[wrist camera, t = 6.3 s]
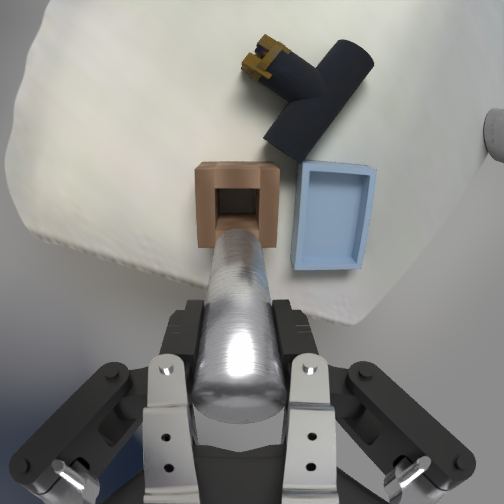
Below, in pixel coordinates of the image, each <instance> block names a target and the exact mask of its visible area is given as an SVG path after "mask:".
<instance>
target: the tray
mask: <svg viewBox="0 0 504 504" xmlns="http://www.w3.org/2000/svg"><path fill="white" fill-rule="evenodd" d="M376 172H377V169H374V168H372V167H369V166H366V165H357V164H347V163H336V162H324V161H310V160H303V162H302V163H301V164H300V163H298V162H297V177H296V194H295V209H294V223H293V236H292V248H291V262H292V265H293V267H294V270H339V269H361V267H362V262H363V257H364V252H365V247H366V241H367V236H368V230H369V224H370V218H371V211H372V204H373V197H374V189H375V181H376Z"/></svg>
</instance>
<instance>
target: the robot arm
mask: <svg viewBox="0 0 504 504" xmlns="http://www.w3.org/2000/svg"><path fill="white" fill-rule="evenodd" d="M484 137H485V143H486V147H487V150H488V152H489V154H490V155H491V157H492V158H493V159H495V160H496V161H499V162H502V163H504V109H492V110H491V111H490V112H489V113H488V115H487V117H486V120H485V125H484ZM204 308H205V306H204V300H187V304H186V308H185V310H176V311H175V312H174V313H173V314H172V315H171V316H170V319H169V322H168V326H167V329H166V333H165V336H164V340H163V343H162V347H161V350H160V353H159V356H157V357H155V358H154V359H152V361H151V362H150V364H149V366H148V367H145V368H141V369H135V370H128V368H127V367H126V366H125V365H124V364H122V363H119V362H110V363H107V364H105V365H103V366H102V367H100V368H99V369H98V370H97V371H96V372H95V373H94V374H93V375H92V376H91V377H90V378H89V379H88V380H87V381H86V382H85V383H84V384H83V385H82V386H81V387H80V388H79V389H78V390H77V391H76V392H75V393H74V394H73V395H72V396H71V397H70V398H69V399H68V400H67V401H66V402H65V403H64V404H63V405H62V406H61V407H60V408H59V409H58V410H57V411H56V412H55V413H54V414H53V415H52V416H51V417H50V418H49V419H48V420H47V421H46V422H45V423H44V424H43V425H42V426H41V427H40V428H39V429H38V430H37V431H36V432H35V433H34V434H33V435H32V436H31V437H30V438H29V439H28V440H27V441H26V442H25V444H23V445H22V446H21V448H20V449H19V450H18V451H17V452H16V453H15V454H14V455H13V456H12V457H11V459H10V462H9V470H10V474H11V476H12V477H13V479H14V480H15V481H16V482H18V483H19V484H21V485H22V486H23V487H25V488H27V490H28V491H30V492H31V493H33V494H34V495H36V496H38V497H39V498H41V499H42V500H43V502H44V503H46V504H95V499H96V497H97V496H98V494H99V489H100V486H99V482H98V480H97V478H98V477H99V476H100V474H101V473H102V472H103V471H104V469H105V468H106V467H107V466H108V464H109V463H110V462H111V461H112V459H113V458H114V457H115V456H116V454H117V453H118V452H119V451H120V449H121V448H122V447H123V446H124V445H125V443H126V442H127V441H128V440H129V438H130V437H131V436H132V435H133V433H134V432H135V431H136V430H137V428H138V427H139V426H140V425H141V423H142V422H143V456H144V469H142V470H141V471H140V472H139V473H137V474H136V475H135V476H134V477H133V478H132V479H130V480H129V481H128V482H126V483H125V484H124V485H123V486H121V487H120V488H119V489H117V490H116V491H115V492H114V493H112V494H111V495H110V496H108V497H107V498H106V499H104V500H103V501H102V502H100V503H99V504H436V503H437V502H438V501H439V500H440V499H441V498H442V497H443V496H444V495H445V494H446V493H447V492H449V491H450V490H452V489H453V488H455V487H456V486H458V485H459V484H461V483H462V482H464V481H465V480H467V479H468V478H469V477H470V476H471V475H472V474H473V472H474V470H475V467H476V460H475V457H474V455H473V453H472V452H471V451H470V450H469V449H467V448H466V447H465V446H464V445H463V444H462V443H461V442H460V441H459V440H458V439H456V438H455V437H454V436H453V435H452V434H451V433H450V432H449V431H448V430H447V429H446V428H444V427H443V426H442V425H441V424H440V423H439V422H438V421H437V420H436V419H434V418H433V417H432V416H431V415H430V414H429V413H428V412H427V411H426V410H425V409H424V408H422V407H421V406H420V405H419V404H418V403H417V402H416V401H415V400H414V399H412V398H411V397H410V396H409V395H408V394H407V393H406V392H405V391H403V389H402V388H400V387H399V386H398V385H397V384H396V383H395V382H394V381H393V380H391V378H389V377H388V376H387V375H386V374H385V373H384V372H383V371H382V370H381V369H380V368H378V367H377V366H376V365H375V364H373V363H370V362H366V361H360V362H356V363H354V364H353V365H351V367H350V368H349V369H344V368H337V367H333V366H330V365H328V364H327V362H326V361H325V359H324V358H322V357H321V356H319V354H318V351H317V347H316V344H315V341H314V338H313V335H312V332H311V328H310V326H309V322H308V319H307V316H306V315H305V314H304V313H303V312H302V311H301V310H292V309H291V305H290V302H289V300H273V301H272V311H273V317H274V322H275V328H276V334H277V340H278V346H279V352H280V358H281V364H282V369H283V375H284V381H285V387H286V393H287V401H286V404H285V407H284V419H283V428H282V438H281V444H280V445H268V446H265V447H261V448H257V449H253V450H249V451H245V452H234V451H229V450H225V449H221V448H216V447H212V446H207V445H206V446H205V445H199V442H198V437H197V430H196V423H195V416H194V409H193V403H192V391H193V384H194V376H195V369H196V362H197V355H198V348H199V341H200V334H201V328H202V321H203V314H204ZM335 419H336V420H337V422H338V423H339V424H340V425H341V426H342V428H343V429H344V430H345V431H346V432H347V433H348V434H349V436H350V437H351V438H352V439H353V440H354V441H355V442H356V443H357V444H358V446H359V447H360V448H361V449H362V450H363V451H364V452H365V453H366V455H367V456H368V457H369V458H370V459H371V460H372V461H373V462H374V463H375V464H376V465H377V466H378V468H379V469H380V470H381V471H382V472H383V473H384V474H385V475H386V476H385V479H384V488H385V491H386V493H387V494H388V495H389V500H390V503H388V502H387V501H385V500H384V499H382V498H381V497H379V496H378V495H376V494H375V493H373V492H372V491H370V490H369V489H367V488H366V487H364V486H363V485H361V484H360V483H359V482H357V481H356V480H354V479H353V478H352V477H350V476H349V475H348V474H346V473H345V472H343V471H342V470H341V469H339V468H338V467H337V466H336V428H335Z"/></svg>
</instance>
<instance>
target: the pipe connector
mask: <svg viewBox="0 0 504 504" xmlns="http://www.w3.org/2000/svg"><path fill="white" fill-rule="evenodd" d="M255 53H257V54H259V55H260V56H262V57H263V59H260V58H258V57H257V56H255V55H253V54H252V53H249V54H248V55H247V56H246V58H245V59H244V60H243V61H242V67H241V70H243V71H245V72H246V73H248V74H250V75H251V76H250V78H251V79H253V80H254V81H256V82H260V83H261V84H263V85H264V86H266V87H268V88H269V89H271V90H272V91H274V92H275V93H277V94H278V95H280V96H281V97H282V98H284V99H285V100H287V101H288V102H289V103H288V104H287V106H286V107H285V108H284V110H283V111H282V112H281V114H280V115H279V117H278V118H277V119H276V121H275V122H274V123H273V125H272V126H271V127H270V129H269V130H268V132H267V133H266V134H265V136H264V137H263V138H264V139H265V140H266V141H268V142H269V143H271V144H272V145H274V146H275V147H276V148H278V149H279V150H281V151H282V152H284V153H285V154H287V155H288V156H289V157H291V158H292V159H294V160H295V161H297V162H298V163H300V164H301V163H302V162H303V160H304V159H305V158H306V156H307V155H308V154H309V152H310V151H311V149H312V148H313V147H314V145H315V144H316V143H317V141H318V140H319V139H320V137H321V136H322V135H323V133H324V132H325V131H326V129H327V128H328V127H329V125H330V124H331V122H332V121H333V120H334V118H335V117H336V116H337V114H338V113H339V112H340V110H341V109H342V108H343V106H344V105H345V104H346V102H347V101H348V100H349V98H350V97H351V96H352V94H353V93H354V92H355V90H356V89H357V88H358V86H359V85H360V84H361V82H362V81H363V80H364V79H365V77H366V76H367V75H368V73H369V72H370V71H371V69H372V68H373V67H374V61H373V59H372V58H371V56H370V55H369V54H368V53H367V52H366V51H365V50H364V49H363V48H361V47H360V46H358V45H357V44H355V43H353V42H351V41H348V40H338V41H337V42H336V44H335V45H334V46H333V47H332V48H331V50H330V51H329V52H328V53H327V55H326V56H325V57H324V58H323V59H322V61H321V62H320V63H319V64H318V66H317V67H316V68H315V67H313V66H312V65H310V64H309V63H308V62H306V61H305V60H303V59H302V58H301V57H299V56H298V55H296V54H295V53H293V52H292V51H291V50H290V49H288V48H287V47H285V45H283V44H282V43H280V42H279V41H278V42H277V41H276V40H274V39H272V38H271V37H269V36H267V35H266V34H265V35H264V36H263V37H262V38H261V39H260V40H259V42H258V43H257V48H256V49H255Z"/></svg>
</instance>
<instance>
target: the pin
mask: <svg viewBox="0 0 504 504" xmlns="http://www.w3.org/2000/svg"><path fill="white" fill-rule="evenodd" d="M286 401H287V393H286V387H285V381H284V375H283V369H282V364H281V358H280V352H279V346H278V340H277V334H276V328H275V322H274V317H273V311H272V304H271V299H270V293H269V287H268V282H267V276H266V270H265V265H264V259H263V253H262V248H261V244H260V241H259V239H258V238H257V237H256V236H255V235H254V234H253V233H251V232H250V231H248V230H245V229H232V230H229V231H226V232H225V233H223V234H222V235H221V236H220V237H219V238H218V240H217V242H216V244H215V249H214V254H213V260H212V266H211V271H210V277H209V283H208V289H207V295H206V302H205V308H204V314H203V321H202V328H201V334H200V341H199V348H198V355H197V362H196V369H195V376H194V384H193V391H192V402H193V404H194V406H195V407H196V408H197V410H198V411H200V413H202V414H203V415H205V416H207V417H209V418H211V419H213V420H216V421H219V422H224V423H230V424H248V423H255V422H259V421H263V420H266V419H268V418H270V417H272V416H274V415H276V414H277V413H278V412H279V411H280V410H282V408H283V407H284V406H285V404H286Z"/></svg>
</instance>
